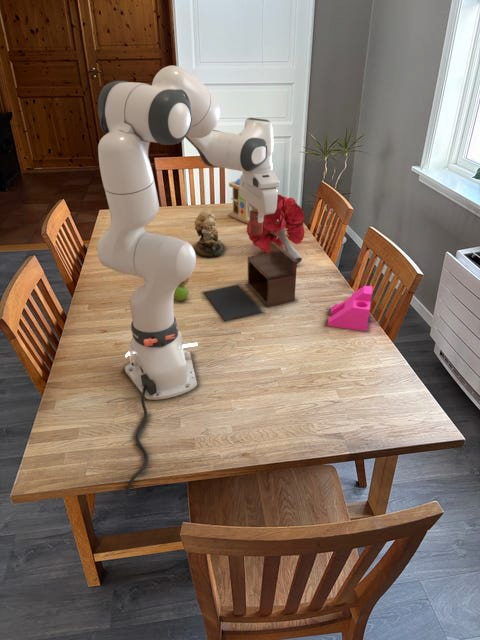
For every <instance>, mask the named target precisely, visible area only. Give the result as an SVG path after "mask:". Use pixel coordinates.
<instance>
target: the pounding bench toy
mask: <svg viewBox="0 0 480 640" xmlns="http://www.w3.org/2000/svg"><path fill="white" fill-rule="evenodd" d="M239 185H240V178H238V179H236V180H235V181H230V182H229V183H228V186H229V187H230V188H232V197H230V200H232V211H230V212H229V217H231V218H233V219H236V220H238V221H241V222H243V223H245V224H246V225H247V224H248V222H249V220H250V217H249V216H250V215H249V208H248V202H247V201H246V200H244V199H243V198H242V197H240V194H239Z"/></svg>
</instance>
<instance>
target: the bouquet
mask: <svg viewBox="0 0 480 640" xmlns="http://www.w3.org/2000/svg"><path fill="white" fill-rule="evenodd" d="M249 217H250V216H249ZM305 221H306V215H305V213H304V210H303V209H302V208H301V206H300V205H299V204H298V203H297V201H296V199H295V198H293V197H287V196H284V195H282V194H279V193H277V208H276V211H275V213H274V214H267V215H264V221H263V233H262V234H261V235H252V234H250V233H249V230H250V220H249V222H248V224H247V223H246V233H247V236H248V239H249V240H250V241H251V242H252V245H254V246H255V247H258V248H260V250H261V251H262V252H265V254H266V253H270V249H271V242H275V243H276V244H277V245H278V246H279V247H281V248H282V246H283V248H284V251H285V252H287V253H288V254H289V255H290V256H291V257H293V258H294V259H295V260H296V261H297V265H298V264H300V263H301V262H302V261H303V257H301V255H300V253H299V252H298V250H297V249H296V248H295V247H294V246H293V245H292V244H291V243H290V242H292V243H293V244H295V245H300V244H301V243H302V242H303V240H304V237H305V234H306V233H305V226H304V223H305Z"/></svg>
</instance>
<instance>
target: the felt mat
mask: <svg viewBox="0 0 480 640" xmlns="http://www.w3.org/2000/svg"><path fill="white" fill-rule="evenodd" d="M203 294H204V295H205V297H206V298H207V299H208V300H209V302H210V303H211V305H212V306H213V307H214V308H215V310H216V311H217V312H218V313H219V315H220V317H221V318H222V319H223V320H224V322H227V321H232V320H236V319H241V318H245V317H249V316H254V315H257V314H262V313H263V311H262V310H261V309H260V308H259V306H258V305H257V304H256V303H255V302H254V301H253V300H252V299H251V298H250V297H249V295H248V294H247V293H246V292H245V291H244V290H243V289H242V288H241V287H240V286H239V284H236V285H231V286H227V287H222V288H217V289H212V290H211V289H210V290H207V291H204V292H203Z"/></svg>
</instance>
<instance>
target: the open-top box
mask: <svg viewBox="0 0 480 640" xmlns="http://www.w3.org/2000/svg"><path fill="white" fill-rule="evenodd" d="M297 266H298V264H297V261H296V260H295V259H294V258H293V257H291V256H290V255H289V254H288V253H287V252H285V249H283V248H282V246H281V247H279V246H278V245H277V244H276V243H275V242H271V249H270V253H266V252H265V253H261V254H255V255H251V256H247V286H248V287H249V288H250V289H251V290H252V291H253V292H254V293H255V294H256V296H257V297H258V298H259V299H260V300H261V301H262V302H263V303H264V304H265V305H266V306H267V307H268V308H269V307H274V306H277V305H282V304H287V303H291V302H295V299H296V298H295V297H296V283H297V269H298V267H297Z"/></svg>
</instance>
